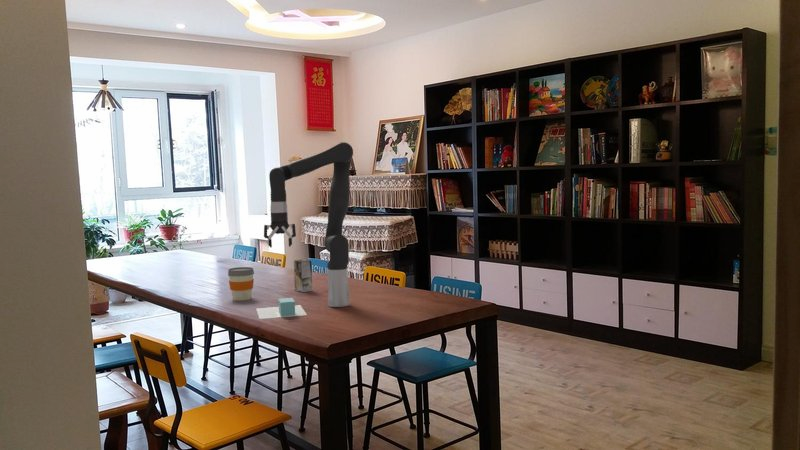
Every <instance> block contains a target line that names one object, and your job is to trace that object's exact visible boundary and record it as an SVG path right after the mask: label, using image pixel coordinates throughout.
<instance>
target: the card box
mask: <svg viewBox="0 0 800 450" xmlns="http://www.w3.org/2000/svg"><path fill="white" fill-rule="evenodd" d="M295 305H296V302H295V299H294V298H293V297H286V298H282V297H281V298H278V307H279V313H280V315H281V317H280V318H283V317H282V316H290V317H295V316H294V315H295Z"/></svg>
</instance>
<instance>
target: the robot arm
mask: <svg viewBox="0 0 800 450" xmlns="http://www.w3.org/2000/svg"><path fill="white" fill-rule="evenodd" d="M353 155H354V148H353V147H352V145H351V144H349V143H348V142H346V141H345V142H338V143H336V145H334V146H332V147H330V148H328V149H326V150H324V151H321V152H319V153H316V154H313V155H310V156H306V157H303V158H300V159H298V160H294V161H291V162H290V163H288V164H286V165H282V166H279V167H274V168H272V169H270V171H269V185H270V186H269V187H270V224H264V226H263V237H264V239H267V244H268V247H270V248H272V247H273V244H272V242H273V241H272V238H273V237H274V235H275V234H276V235H279V234H280V235H282V234H286V236H287V237H288V247H291V246H292V245H293V239H294V238H295V237H297V234H296V224H295V223H290V224H289V222H288V221H289V218H288V215H289V214H288V204H287V191H286V182H287V181H288V180H291V179H293V178H298V177H302V176H304V175H306V174H307V175H308V174H309V173H312V172H314V171H316V170H318V169H320V168H323V167H325V166H329V165H332V164H333V172H332V173H333V174H332V179H331V184H330V189H329V196H328V197H329V199H328V212H327V213H328V214H327V227H326V230H325V232H326V233H325V237H324V242H323V243H324V248H325V250H326V251H327V252H328V253H329V261H328V262H327V263H326V264H327V265H326V266H327V267H326V269H327V270H326V271H327V299H328V300H327V301H328V302H327V303H328V307H332V308H343V307H348V306H349V307H350V286H349V281H348V275H349V274H348V264H349V260H350V259H349V258H350V256H349V255H350V253H349V252H350V247H349V246H350V245H349V240H348V238H347V237H346V236H344V235H343V223H344V220H345V217H346V215H347V213H348V209H349V205H350V193H351V191H350V189H351V187H350V186H351V185H350V171H351V170H350V168H351V164H352V160H353ZM289 228H290V229H291V231H292V232H291V233H292V234H291V233H290V232H289V231H288V229H289ZM270 229H271V232H270V234H269V235H268V230H270Z"/></svg>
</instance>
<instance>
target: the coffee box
mask: <svg viewBox="0 0 800 450" xmlns="http://www.w3.org/2000/svg"><path fill="white" fill-rule="evenodd" d="M312 273H313V270H312V260H309V259H304V258H303V259H296V260H295V259H294V260H293V274H294V275H293V276H294V277H293V278H294V291H297V292H301V293H307V292H313V274H312Z"/></svg>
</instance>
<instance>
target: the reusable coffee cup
mask: <svg viewBox="0 0 800 450" xmlns="http://www.w3.org/2000/svg"><path fill="white" fill-rule="evenodd" d="M254 274H255V272H254V268H253V267H249V266H242V267H241V266H239V267H232V268H228V271H227V275H228V278H229V280H228V284H229V290H230V291H231V296H232V300H233V301H248V300H250V299H252V295H253V289H254V281H255V279H254Z"/></svg>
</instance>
